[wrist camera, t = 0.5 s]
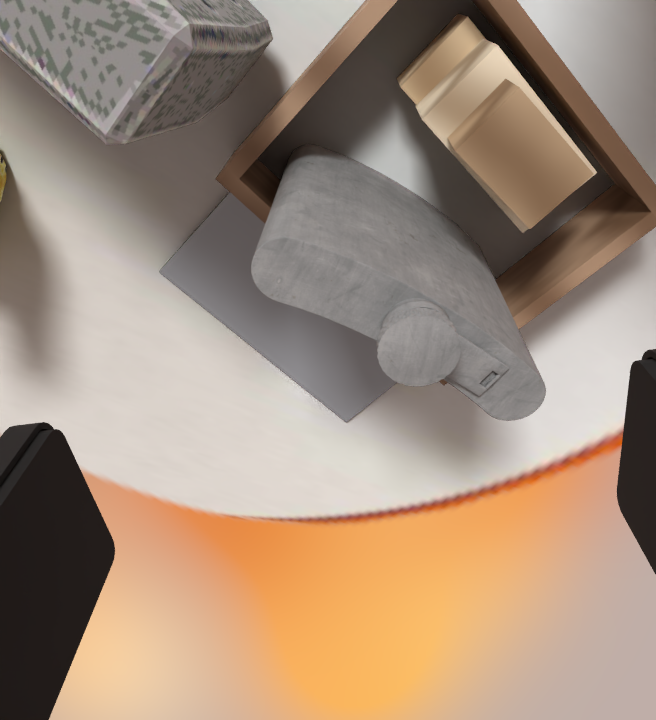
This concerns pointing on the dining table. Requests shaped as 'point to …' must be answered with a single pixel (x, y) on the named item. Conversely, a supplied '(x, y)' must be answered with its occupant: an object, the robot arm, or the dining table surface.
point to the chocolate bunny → (2, 176)
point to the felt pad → (274, 314)
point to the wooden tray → (632, 184)
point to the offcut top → (519, 154)
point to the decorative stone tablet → (134, 58)
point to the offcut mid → (467, 92)
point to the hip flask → (394, 280)
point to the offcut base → (439, 57)
